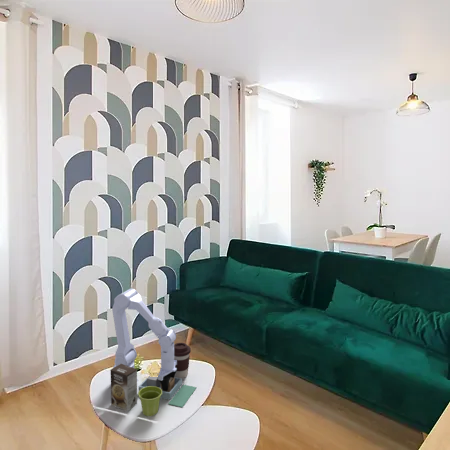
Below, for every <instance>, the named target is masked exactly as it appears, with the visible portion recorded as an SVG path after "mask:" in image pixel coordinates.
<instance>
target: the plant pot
mask: <svg viewBox="0 0 450 450" xmlns="http://www.w3.org/2000/svg"><path fill="white" fill-rule="evenodd" d="M161 395H162V390H161V389H160V388H159V387H156V386H148V387H144V388H142V389H141V390H140V391H139V390H138V392H137V397H138V398H139V399H140V404H141V410H142V412H141V413H142V415H144V416H146V417H153V416H156V414H158V412H159V408H160V407H159V406H160V400H161V398H160V397H161Z"/></svg>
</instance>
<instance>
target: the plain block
mask: <svg viewBox="0 0 450 450" xmlns="http://www.w3.org/2000/svg"><path fill="white" fill-rule="evenodd" d="M148 376H149V375H148ZM148 376H147V377H148ZM147 377H146V378H147ZM148 386H156V387H160V386H161V383H160V381H159V380H158V377H150V376H149V377H148V378H147V387H148Z"/></svg>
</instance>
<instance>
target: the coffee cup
mask: <svg viewBox="0 0 450 450" xmlns="http://www.w3.org/2000/svg"><path fill="white" fill-rule="evenodd" d="M191 350H192V348H191V347H190V346H189V345H188V344H187V343H186V342H176V343H174V360H177V365H175V367H176V368H178V370H177V372H176V374H175V377H177V378H182V379H185V378H186V377H188V375H189V367H190V355H191Z"/></svg>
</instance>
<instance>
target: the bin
mask: <svg viewBox="0 0 450 450" xmlns="http://www.w3.org/2000/svg"><path fill="white" fill-rule="evenodd" d="M174 378H175V386H174V387H173V389H172V390H171V391H170V392H165V391H162V395H161V397H160V399H162V400H169V401H171V400H172V398H173V397H174V396H175V394H176V393H177V392H178V391H179V389H180V388H181V387H182V386H183V378H177V377H174ZM144 387H147V377H146V378H145V379H144V380H143V381H142V382H141V383H140V385H138V392H139V391H140V390H141V389H142V388H144ZM159 388H160V389H161V386H160V387H159Z"/></svg>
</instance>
